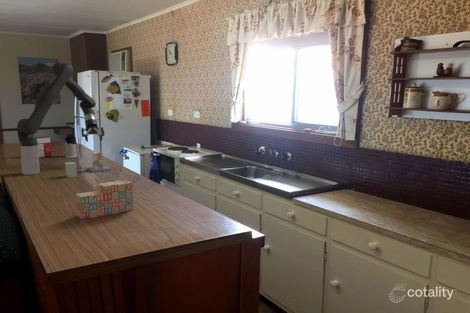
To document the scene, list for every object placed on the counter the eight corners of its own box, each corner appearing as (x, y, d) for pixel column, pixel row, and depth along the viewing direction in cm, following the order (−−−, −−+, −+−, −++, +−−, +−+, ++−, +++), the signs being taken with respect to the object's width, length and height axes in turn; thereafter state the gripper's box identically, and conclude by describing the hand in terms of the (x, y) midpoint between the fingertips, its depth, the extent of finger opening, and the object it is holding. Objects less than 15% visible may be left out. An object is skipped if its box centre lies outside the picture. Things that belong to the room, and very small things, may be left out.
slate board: (93, 172, 234) (93, 170, 234) (86, 169, 244) (86, 167, 244) (110, 170, 241) (110, 168, 241) (103, 167, 251) (103, 165, 251)
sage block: (68, 177, 221) (67, 164, 220) (65, 176, 225) (64, 162, 223) (76, 176, 224) (76, 163, 223) (74, 175, 228) (73, 161, 227)
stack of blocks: (81, 220, 148) (79, 189, 146) (76, 215, 153) (75, 186, 151) (133, 210, 161) (132, 182, 159) (127, 206, 166) (126, 179, 164)
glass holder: (65, 156, 294) (63, 136, 292) (84, 155, 300) (83, 136, 297) (65, 157, 286) (64, 138, 284) (85, 156, 292) (84, 137, 290)
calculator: (37, 158, 283) (36, 138, 281) (35, 157, 286) (33, 137, 284) (52, 156, 292) (50, 137, 290) (49, 155, 295) (48, 136, 292)
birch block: (95, 168, 239) (94, 153, 237) (93, 167, 243) (92, 152, 241) (103, 168, 242) (102, 152, 240) (101, 166, 246) (100, 151, 244)
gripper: (79, 118, 251) (83, 137, 243) (102, 118, 258) (106, 136, 250) (79, 125, 257) (82, 144, 249) (101, 125, 263) (105, 143, 255)
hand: (94, 140), depth 249 cm, fingers open, 8 cm apart
